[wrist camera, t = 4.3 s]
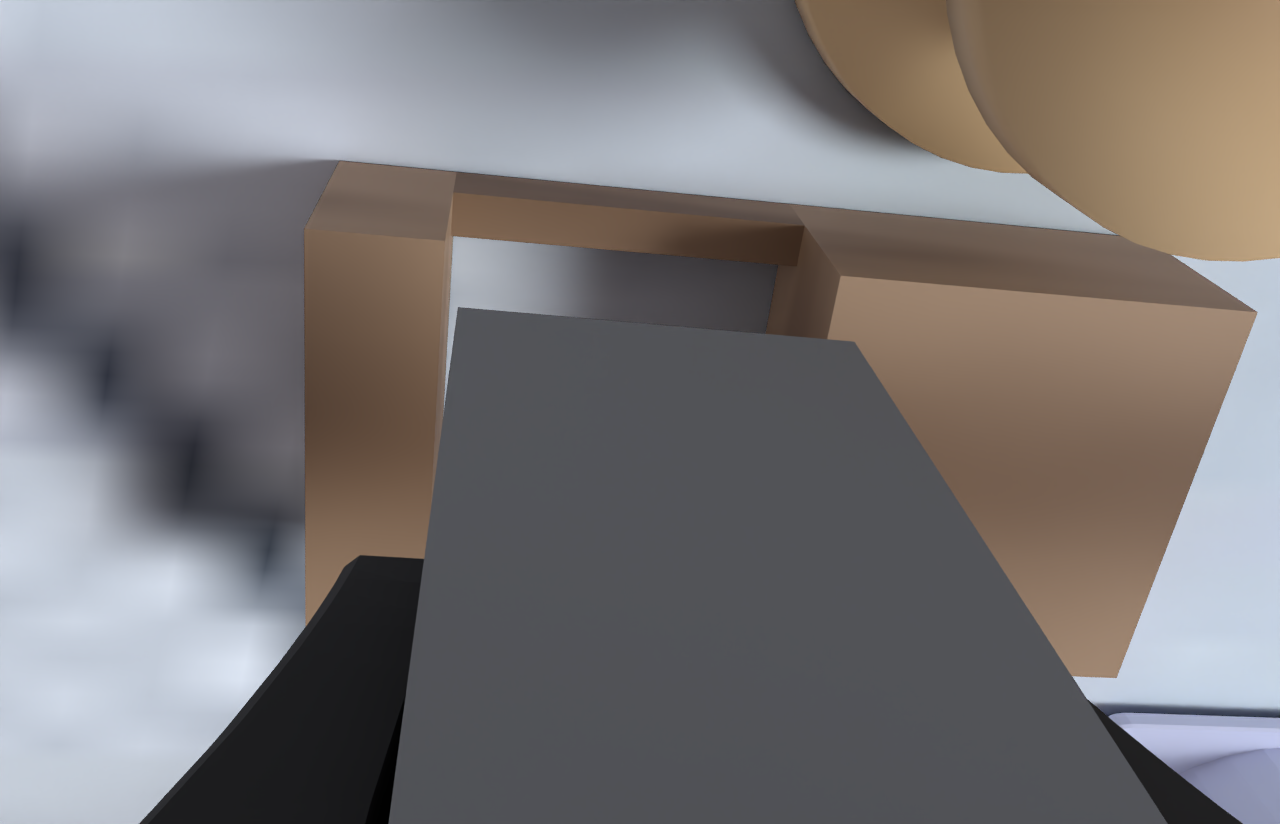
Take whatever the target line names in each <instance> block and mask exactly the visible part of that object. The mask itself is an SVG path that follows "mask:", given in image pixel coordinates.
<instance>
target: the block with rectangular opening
mask: <svg viewBox="0 0 1280 824" xmlns="http://www.w3.org/2000/svg"><path fill="white" fill-rule="evenodd" d="M453 236H459V237H470V238H481V239H492V240H504V241H515V242H526V243H538V244H549V245H560V246H572V247H583V248H594V249H605V250H617V251H628V252H639V253H651V254H662V255H673V256H685V257H696V258H707V259H718V260H730V261H741V262H752V263H764V264H775V265H778V269H777V274H776V280H775V285H774V290H773V296H772V301H771V306H770V312H769V317H768V322H767V328H766V333H765V334H772V335H784V336H795V337H807V338H818V339H830V340H841V341H853V342H855V343H856V345H857V346H858V348H859V349H860V351H861V353H862V354H863V356H864V357H865V359H866V360H867V362H868V363H869V365H870V366H871V368H872V369H873V371H874V373H875V374H876V376H877V377H878V379H879V380H880V382H881V383H882V385H883V386H884V388H885V389H886V391H887V393H888V394H889V396H890V397H891V399H892V400H893V402H894V403H895V405H896V406H897V408H898V409H899V411H900V413H901V414H902V416H903V417H904V419H905V420H906V422H907V423H908V425H909V426H910V428H911V429H912V431H913V433H914V434H915V436H916V437H917V439H918V440H919V442H920V443H921V445H922V446H923V448H924V449H925V451H926V453H927V454H928V456H929V457H930V459H931V460H932V462H933V463H934V465H935V466H936V468H937V469H938V471H939V473H940V474H941V476H942V477H943V479H944V480H945V482H946V483H947V485H948V486H949V488H950V489H951V491H952V493H953V494H954V496H955V497H956V499H957V500H958V502H959V503H960V505H961V506H962V508H963V509H964V511H965V513H966V514H967V516H968V517H969V519H970V520H971V522H972V523H973V525H974V526H975V528H976V529H977V531H978V533H979V534H980V536H981V537H982V539H983V540H984V542H985V543H986V545H987V546H988V548H989V549H990V551H991V553H992V554H993V556H994V557H995V559H996V560H997V562H998V563H999V565H1000V566H1001V568H1002V569H1003V571H1004V573H1005V574H1006V576H1007V577H1008V579H1009V580H1010V582H1011V583H1012V585H1013V586H1014V588H1015V589H1016V591H1017V593H1018V594H1019V596H1020V597H1021V599H1022V600H1023V602H1024V603H1025V605H1026V606H1027V608H1028V609H1029V611H1030V613H1031V614H1032V616H1033V617H1034V619H1035V620H1036V622H1037V623H1038V625H1039V626H1040V628H1041V629H1042V631H1043V633H1044V634H1045V636H1046V637H1047V639H1048V640H1049V642H1050V643H1051V645H1052V646H1053V648H1054V649H1055V651H1056V653H1057V654H1058V656H1059V657H1060V659H1061V660H1062V662H1063V663H1064V665H1065V666H1066V668H1067V669H1068V671H1069V673H1070V674H1071V676H1080V677H1106V678H1117V675H1118V672H1119V670H1120V667H1121V665H1122V662H1123V659H1124V657H1125V654H1126V652H1127V649H1128V647H1129V644H1130V641H1131V639H1132V636H1133V634H1134V631H1135V628H1136V626H1137V623H1138V621H1139V618H1140V616H1141V613H1142V610H1143V608H1144V605H1145V603H1146V600H1147V597H1148V595H1149V592H1150V590H1151V587H1152V584H1153V582H1154V579H1155V577H1156V574H1157V572H1158V569H1159V566H1160V564H1161V561H1162V559H1163V556H1164V553H1165V551H1166V548H1167V546H1168V543H1169V540H1170V538H1171V535H1172V533H1173V530H1174V528H1175V525H1176V522H1177V520H1178V517H1179V515H1180V512H1181V509H1182V507H1183V504H1184V502H1185V499H1186V496H1187V494H1188V491H1189V489H1190V486H1191V484H1192V481H1193V478H1194V476H1195V473H1196V471H1197V468H1198V465H1199V463H1200V460H1201V458H1202V455H1203V452H1204V450H1205V447H1206V445H1207V442H1208V440H1209V437H1210V434H1211V432H1212V429H1213V427H1214V424H1215V421H1216V419H1217V416H1218V414H1219V411H1220V408H1221V406H1222V403H1223V401H1224V398H1225V396H1226V393H1227V390H1228V388H1229V385H1230V383H1231V380H1232V377H1233V375H1234V372H1235V370H1236V367H1237V364H1238V362H1239V359H1240V357H1241V354H1242V352H1243V349H1244V346H1245V344H1246V341H1247V339H1248V336H1249V333H1250V331H1251V328H1252V326H1253V323H1254V320H1255V318H1256V315H1257V313H1258V312H1256V311H1255V310H1253V309H1252V308H1250V307H1249V306H1247V305H1246V304H1244V303H1243V302H1241V301H1240V300H1238V299H1237V298H1235V297H1234V296H1232V295H1231V294H1229V293H1228V292H1226V291H1225V290H1223V289H1222V288H1220V287H1219V286H1217V285H1216V284H1214V283H1213V282H1211V281H1209V280H1208V279H1206V278H1205V277H1203V276H1202V275H1200V274H1199V273H1197V272H1196V271H1194V270H1193V269H1191V268H1190V267H1188V266H1187V265H1185V264H1184V263H1182V262H1181V261H1179V260H1178V259H1176V258H1175V257H1173V256H1172V255H1170V254H1167V253H1164V252H1161V251H1158V250H1155V249H1152V248H1149V247H1145V246H1142V245H1139V244H1136V243H1134V242H1132V241H1130V240H1128V239H1126V238H1124V237H1122V236H1116V235H1105V234H1095V233H1084V232H1074V231H1064V230H1053V229H1043V228H1032V227H1022V226H1012V225H1001V224H991V223H981V222H970V221H960V220H949V219H939V218H929V217H918V216H908V215H897V214H887V213H877V212H866V211H856V210H845V209H835V208H825V207H814V206H804V205H793V204H783V203H773V202H762V201H752V200H742V199H731V198H721V197H710V196H700V195H690V194H679V193H669V192H658V191H648V190H638V189H627V188H617V187H606V186H596V185H586V184H575V183H565V182H554V181H544V180H534V179H523V178H513V177H503V176H492V175H482V174H471V173H461V172H451V171H440V170H430V169H419V168H409V167H399V166H388V165H378V164H367V163H357V162H347V161H339V163H338V164H337V166H336V168H335V170H334V172H333V174H332V176H331V178H330V180H329V182H328V184H327V186H326V188H325V189H324V191H323V193H322V195H321V197H320V199H319V201H318V203H317V205H316V207H315V209H314V211H313V213H312V214H311V216H310V218H309V220H308V222H307V224H306V226H305V228H304V328H305V593H306V626H307V624H308V623H309V621H310V620H311V619H312V617H313V616H314V614H315V613H316V611H317V610H318V608H319V607H320V605H321V604H322V602H323V601H324V599H325V598H326V596H327V595H328V593H329V592H330V590H331V588H332V587H333V585H334V584H335V582H336V580H337V579H338V577H339V575H340V573H341V572H342V570H343V568H344V567H345V566H346V565H347V564H349V563H350V562H351V561H353V560H354V559H355V558H357V557H358V556H359V555H368V556H385V557H402V558H419V559H424V556H425V549H426V541H427V534H428V526H429V519H430V512H431V504H432V497H433V489H434V482H435V474H436V467H437V460H438V452H439V445H440V437H441V430H442V422H443V409H444V391H445V373H446V355H447V337H448V319H449V301H450V283H451V265H452V247H453Z"/></svg>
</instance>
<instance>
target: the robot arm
mask: <svg viewBox="0 0 1280 824" xmlns="http://www.w3.org/2000/svg"><path fill="white" fill-rule="evenodd" d="M423 563H424V559H419V558H402V557H385V556H368V555H359V556H358V557H357V558H355V559H354V560H353V561H351V562H350V563H349V564H347V565H346V566H345V567H344V568H343V570H342V572H341V573H340V575H339V577H338V579H337V580H336V582H335V584H334V585H333V587H332V588H331V590H330V592H329V593H328V595H327V596H326V598H325V599H324V601H323V602H322V604H321V605H320V607H319V608H318V610H317V611H316V613H315V614H314V616H313V617H312V619H311V620H310V621H309V623H308V624H307V626H306V627H305V629H304V630H303V631H302V633H301V634H300V635H299V637H298V638H297V639H296V641H295V642H294V643H293V645H292V646H291V647H290V649H289V650H288V652H287V653H286V654H285V656H284V657H283V658H282V660H281V661H280V662H279V664H278V665H277V666H276V667H275V669H274V670H273V671H272V672H271V674H270V675H269V676H268V677H267V678H266V680H265V681H264V682H263V683H262V685H261V686H260V687H259V688H258V690H257V691H256V692H255V693H254V695H253V696H252V697H251V698H250V699H249V701H248V702H247V703H246V704H245V706H244V707H243V708H242V709H241V711H240V712H239V713H238V714H237V715H236V717H235V718H234V719H233V720H232V722H231V723H230V724H229V725H228V727H227V728H226V729H225V730H224V731H223V732H222V734H221V735H220V736H219V737H218V738H217V739H216V741H215V742H214V743H213V744H212V745H211V746H210V747H209V749H208V750H207V751H206V752H205V753H204V754H203V755H202V756H201V757H200V758H199V759H198V761H197V762H196V763H195V764H194V765H193V766H192V767H191V768H190V769H189V770H188V771H187V772H186V774H185V775H184V776H183V777H182V778H181V779H180V780H179V781H178V782H177V783H176V784H175V786H174V787H173V788H172V789H171V790H170V791H169V792H168V793H167V794H166V795H165V796H164V797H163V799H162V800H161V801H160V802H159V803H158V804H157V805H156V806H155V807H154V808H153V809H152V811H151V812H150V813H149V814H148V815H147V816H146V817H145V818H144V819H143V820H142V821H141V822H140V824H388V823H389V816H390V808H391V801H392V794H393V786H394V779H395V771H396V764H397V756H398V749H399V742H400V734H401V727H402V719H403V712H404V705H405V697H406V690H407V682H408V675H409V667H410V660H411V653H412V645H413V638H414V630H415V623H416V615H417V608H418V601H419V593H420V586H421V578H422V571H423ZM1088 702H1089V703H1090V705H1091V706H1092V708H1093V709H1094V711H1095V713H1096V714H1097V716H1098V717H1099V719H1100V720H1101V722H1102V723H1103V725H1104V726H1105V728H1106V729H1107V731H1108V733H1109V734H1110V736H1111V737H1112V739H1113V740H1114V742H1115V743H1116V745H1117V746H1118V748H1119V750H1120V751H1121V753H1122V754H1123V756H1124V757H1125V759H1126V760H1127V762H1128V763H1129V765H1130V766H1131V768H1132V770H1133V771H1134V773H1135V774H1136V776H1137V777H1138V779H1139V780H1140V782H1141V783H1142V785H1143V786H1144V788H1145V790H1146V791H1147V793H1148V794H1149V796H1150V797H1151V799H1152V800H1153V802H1154V803H1155V805H1156V806H1157V808H1158V810H1159V811H1160V813H1161V814H1162V816H1163V817H1164V819H1165V820H1166V822H1167V823H1168V824H1280V718H1265V717H1236V716H1206V715H1177V714H1148V713H1118V714H1112V715H1110V716H1107V715H1105V714H1104V713H1103V712H1102V711H1101V710H1099V709H1098V708H1097V707H1096V706H1095V705H1093V704H1092V703H1091V702H1090V701H1089V700H1088Z"/></svg>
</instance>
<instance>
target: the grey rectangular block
mask: <svg viewBox="0 0 1280 824" xmlns="http://www.w3.org/2000/svg"><path fill="white" fill-rule="evenodd" d="M388 824H1168V823H1167V822H1166V820H1165V819H1164V817H1163V816H1162V814H1161V813H1160V811H1159V810H1158V808H1157V806H1156V805H1155V803H1154V802H1153V800H1152V799H1151V797H1150V796H1149V794H1148V793H1147V791H1146V790H1145V788H1144V786H1143V785H1142V783H1141V782H1140V780H1139V779H1138V777H1137V776H1136V774H1135V773H1134V771H1133V770H1132V768H1131V766H1130V765H1129V763H1128V762H1127V760H1126V759H1125V757H1124V756H1123V754H1122V753H1121V751H1120V750H1119V748H1118V746H1117V745H1116V743H1115V742H1114V740H1113V739H1112V737H1111V736H1110V734H1109V733H1108V731H1107V729H1106V728H1105V726H1104V725H1103V723H1102V722H1101V720H1100V719H1099V717H1098V716H1097V714H1096V713H1095V711H1094V709H1093V708H1092V706H1091V705H1090V703H1089V702H1088V700H1087V699H1086V697H1085V696H1084V694H1083V693H1082V691H1081V689H1080V688H1079V686H1078V685H1077V683H1076V682H1075V680H1074V679H1073V677H1072V676H1071V674H1070V673H1069V671H1068V669H1067V668H1066V666H1065V665H1064V663H1063V662H1062V660H1061V659H1060V657H1059V656H1058V654H1057V653H1056V651H1055V649H1054V648H1053V646H1052V645H1051V643H1050V642H1049V640H1048V639H1047V637H1046V636H1045V634H1044V633H1043V631H1042V629H1041V628H1040V626H1039V625H1038V623H1037V622H1036V620H1035V619H1034V617H1033V616H1032V614H1031V613H1030V611H1029V609H1028V608H1027V606H1026V605H1025V603H1024V602H1023V600H1022V599H1021V597H1020V596H1019V594H1018V593H1017V591H1016V589H1015V588H1014V586H1013V585H1012V583H1011V582H1010V580H1009V579H1008V577H1007V576H1006V574H1005V573H1004V571H1003V569H1002V568H1001V566H1000V565H999V563H998V562H997V560H996V559H995V557H994V556H993V554H992V553H991V551H990V549H989V548H988V546H987V545H986V543H985V542H984V540H983V539H982V537H981V536H980V534H979V533H978V531H977V529H976V528H975V526H974V525H973V523H972V522H971V520H970V519H969V517H968V516H967V514H966V513H965V511H964V509H963V508H962V506H961V505H960V503H959V502H958V500H957V499H956V497H955V496H954V494H953V493H952V491H951V489H950V488H949V486H948V485H947V483H946V482H945V480H944V479H943V477H942V476H941V474H940V473H939V471H938V469H937V468H936V466H935V465H934V463H933V462H932V460H931V459H930V457H929V456H928V454H927V453H926V451H925V449H924V448H923V446H922V445H921V443H920V442H919V440H918V439H917V437H916V436H915V434H914V433H913V431H912V429H911V428H910V426H909V425H908V423H907V422H906V420H905V419H904V417H903V416H902V414H901V413H900V411H899V409H898V408H897V406H896V405H895V403H894V402H893V400H892V399H891V397H890V396H889V394H888V393H887V391H886V389H885V388H884V386H883V385H882V383H881V382H880V380H879V379H878V377H877V376H876V374H875V373H874V371H873V369H872V368H871V366H870V365H869V363H868V362H867V360H866V359H865V357H864V356H863V354H862V353H861V351H860V349H859V348H858V346H857V345H856V343H855V342H853V341H841V340H830V339H818V338H807V337H795V336H784V335H772V334H760V333H749V332H737V331H726V330H714V329H703V328H691V327H680V326H668V325H656V324H645V323H633V322H622V321H610V320H599V319H587V318H575V317H564V316H552V315H541V314H529V313H518V312H506V311H495V310H483V309H471V308H460V307H458V311H457V319H456V326H455V333H454V341H453V348H452V356H451V363H450V370H449V378H448V385H447V393H446V400H445V408H444V415H443V422H442V430H441V437H440V445H439V452H438V460H437V467H436V474H435V482H434V489H433V497H432V504H431V512H430V519H429V526H428V534H427V541H426V549H425V556H424V563H423V571H422V578H421V586H420V593H419V601H418V608H417V615H416V623H415V630H414V638H413V645H412V653H411V660H410V667H409V675H408V682H407V690H406V697H405V705H404V712H403V719H402V727H401V734H400V742H399V749H398V756H397V764H396V771H395V779H394V786H393V794H392V801H391V808H390V816H389V823H388Z"/></svg>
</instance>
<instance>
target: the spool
mask: <svg viewBox="0 0 1280 824" xmlns="http://www.w3.org/2000/svg"><path fill="white" fill-rule="evenodd" d="M795 4H796V6H797V8H798V11H799V13H800V16H801V18H802V20H803V23H804V25H805V28H806V30H807V33H808V35H809V37H810V38H811V40H812V42H813V43H814V45H815V47H816V49H817V50H818V52H819V54H820V55H821V57H822V59H823V61H824V62H825V64H826V65H827V66H828V68H829V69H830V70H831V71H832V73H833V74H834V75H835V76H836V78H837V79H838V80H839V81H840V83H841V84H842V85H843V87H844V88H845V89H846V90H847V91H848V92H849V93H851V94H852V95H853V96H854V97H855V98H856V99H857V100H858V101H859V102H860V103H861V104H862V105H863V106H864V107H865V108H866V109H868V110H869V111H870V112H871V113H872V114H874V115H875V116H876V117H877V118H879V119H880V120H881V121H882V122H883V123H885V124H886V125H887V126H889V127H890V128H891V129H893V130H894V131H896V132H897V133H899V134H900V135H901V136H903V137H904V138H906V139H907V140H909V141H910V142H911V143H913V144H915V145H917V146H919V147H921V148H923V149H925V150H927V151H929V152H931V153H933V154H935V155H937V156H939V157H941V158H944V159H947V160H950V161H953V162H956V163H959V164H962V165H965V166H968V167H972V168H978V169H984V170H990V171H995V172H1001V173H1028V174H1029V175H1030V176H1031V177H1032V178H1034V179H1035V180H1037V181H1038V182H1039V183H1041V184H1042V185H1044V186H1045V187H1046V188H1048V189H1049V190H1051V191H1052V192H1053V193H1055V194H1056V195H1058V196H1059V197H1060V198H1062V199H1063V200H1065V201H1066V202H1068V203H1069V204H1070V205H1072V206H1073V207H1075V208H1076V209H1078V210H1079V211H1081V212H1082V213H1083V214H1085V215H1086V216H1088V217H1089V218H1091V219H1092V220H1094V221H1095V222H1097V223H1098V224H1099V225H1101V226H1102V227H1104V228H1106V229H1108V230H1110V231H1112V232H1114V233H1116V234H1118V235H1120V236H1122V237H1124V238H1126V239H1128V240H1130V241H1132V242H1134V243H1136V244H1139V245H1142V246H1145V247H1149V248H1152V249H1155V250H1158V251H1161V252H1164V253H1167V254H1171V255H1177V256H1183V257H1189V258H1195V259H1201V260H1209V261H1253V260H1262V259H1272V258H1280V0H795Z"/></svg>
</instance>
